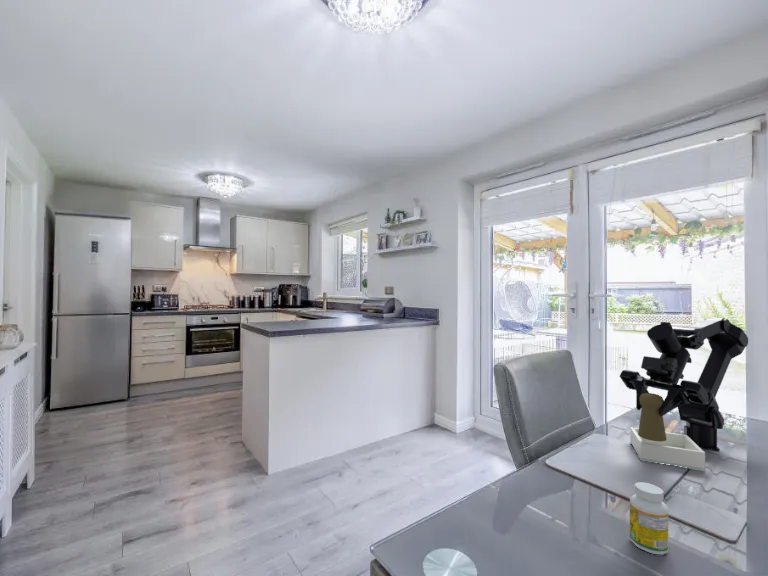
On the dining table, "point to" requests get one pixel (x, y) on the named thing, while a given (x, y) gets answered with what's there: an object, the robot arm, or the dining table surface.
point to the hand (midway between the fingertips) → (648, 412)
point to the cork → (651, 418)
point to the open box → (669, 450)
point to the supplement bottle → (649, 518)
